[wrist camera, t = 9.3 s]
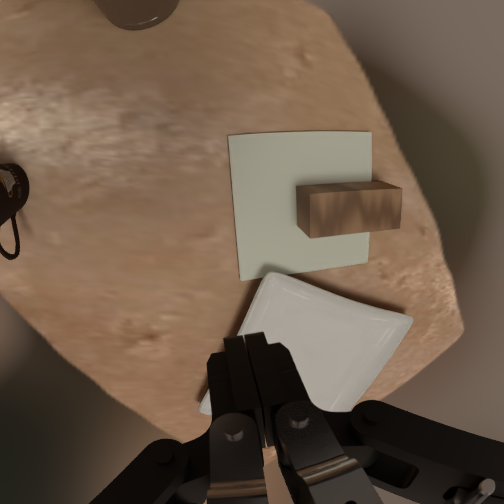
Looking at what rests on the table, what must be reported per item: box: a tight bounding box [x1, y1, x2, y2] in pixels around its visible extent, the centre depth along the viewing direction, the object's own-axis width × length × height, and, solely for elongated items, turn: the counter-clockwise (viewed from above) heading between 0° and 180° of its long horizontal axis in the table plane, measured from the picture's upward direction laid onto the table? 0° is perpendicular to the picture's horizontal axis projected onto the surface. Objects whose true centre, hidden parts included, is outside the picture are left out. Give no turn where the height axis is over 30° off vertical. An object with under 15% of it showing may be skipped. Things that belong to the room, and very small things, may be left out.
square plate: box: [198, 272, 413, 415], centre depth 47 cm, size 27×27×4 cm
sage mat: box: [228, 131, 372, 281], centre depth 39 cm, size 18×18×1 cm
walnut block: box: [296, 181, 402, 239], centre depth 37 cm, size 5×5×12 cm
